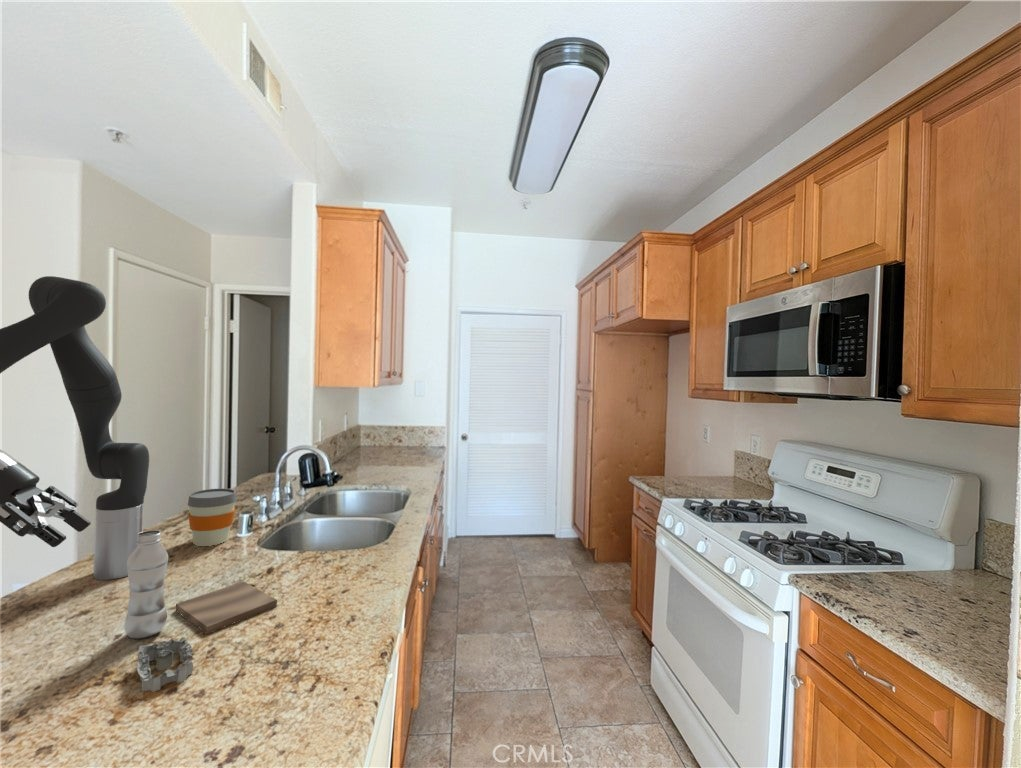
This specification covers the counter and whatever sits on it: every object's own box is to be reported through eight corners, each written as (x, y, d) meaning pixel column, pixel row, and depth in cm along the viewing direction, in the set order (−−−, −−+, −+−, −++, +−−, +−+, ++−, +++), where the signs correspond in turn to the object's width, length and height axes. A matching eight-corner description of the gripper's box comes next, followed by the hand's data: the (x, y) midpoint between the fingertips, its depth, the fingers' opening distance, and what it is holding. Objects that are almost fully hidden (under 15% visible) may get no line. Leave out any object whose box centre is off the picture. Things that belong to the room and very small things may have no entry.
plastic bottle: (143, 645, 84) (147, 540, 84) (114, 640, 85) (118, 536, 85) (175, 627, 90) (178, 529, 90) (147, 622, 92) (151, 526, 92)
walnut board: (175, 610, 97) (175, 603, 97) (243, 587, 108) (243, 581, 108) (207, 634, 88) (207, 626, 88) (276, 606, 100) (276, 599, 100)
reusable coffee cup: (201, 534, 143) (203, 487, 143) (242, 534, 144) (244, 488, 144) (176, 549, 130) (178, 498, 130) (221, 549, 131) (223, 498, 131)
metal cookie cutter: (194, 680, 75) (195, 656, 75) (136, 699, 71) (137, 674, 71) (189, 649, 84) (190, 628, 84) (137, 664, 79) (138, 641, 79)
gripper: (-15, 469, 74) (72, 532, 78) (38, 455, 87) (110, 509, 91) (-61, 503, 72) (30, 565, 76) (1, 483, 85) (75, 537, 89)
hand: (74, 535), depth 84 cm, fingers open, 8 cm apart
